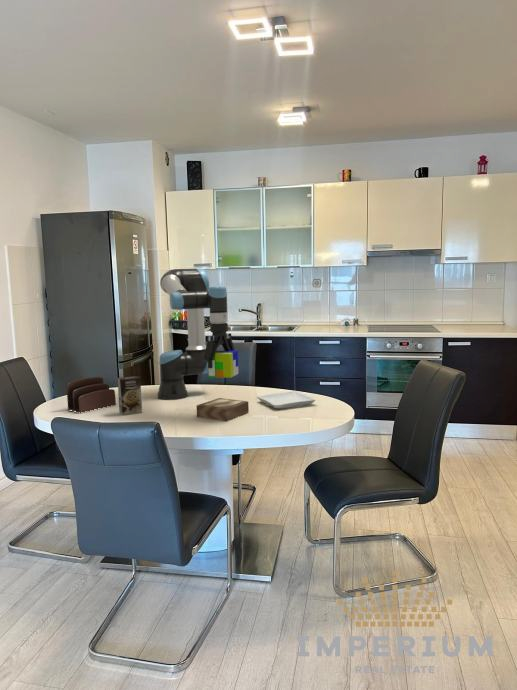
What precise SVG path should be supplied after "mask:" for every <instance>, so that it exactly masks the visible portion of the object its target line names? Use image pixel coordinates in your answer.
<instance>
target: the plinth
mask: <svg viewBox="0 0 517 690" xmlns="http://www.w3.org/2000/svg"><path fill="white" fill-rule="evenodd" d="M248 412H249V413H250V410H249V401H246V400H240V399H232V398H222V397H217V398H214V399H211V400H208V401H206V402H202V403H200V404H197V405H196V418H203V419H210V420H216V421H222V422H223V421H225V422H228V420H229V421H231V420H233V418H234V419H236V418H239V417H241V416H244V415H246V413H247V414H249V413H248ZM243 414H244V415H243ZM238 416H239V417H238Z"/></svg>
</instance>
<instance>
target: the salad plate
mask: <svg viewBox="0 0 517 690" xmlns="http://www.w3.org/2000/svg"><path fill="white" fill-rule="evenodd" d="M256 398H257V399H258V400H259V401H260V402H261V403H264V404H266V405H268V406H270V407H272V408H274V409H277V410H281V409H282V410H283V409H290V408H296V407H297V406H298V407H304V406H308V405H311V404H313V403H314V402H316V399H315V398H314V397H311V396H308V395H307V394H303V393H301V392H298V391H296V390H293V391H284V392H276V393H271V394H264V395H256ZM298 407H297V408H298Z"/></svg>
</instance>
